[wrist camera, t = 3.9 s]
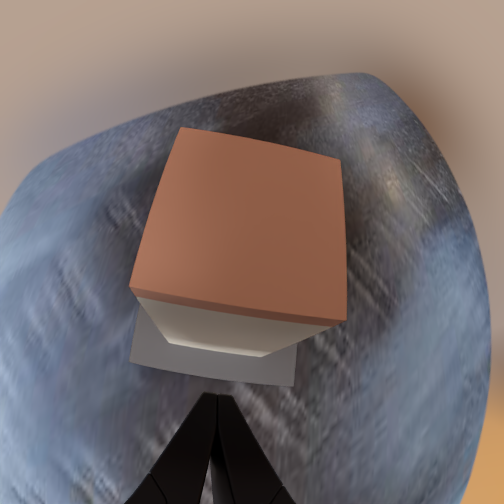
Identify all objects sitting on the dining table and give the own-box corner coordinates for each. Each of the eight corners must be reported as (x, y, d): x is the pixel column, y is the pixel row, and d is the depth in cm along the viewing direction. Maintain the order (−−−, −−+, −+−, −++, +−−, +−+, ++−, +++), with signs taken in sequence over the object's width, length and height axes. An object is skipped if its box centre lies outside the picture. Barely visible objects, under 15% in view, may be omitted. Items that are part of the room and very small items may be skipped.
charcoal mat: (290, 386, 16) (293, 386, 15) (130, 362, 15) (128, 361, 14) (302, 155, 23) (304, 151, 23) (190, 134, 22) (191, 129, 22)
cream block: (260, 357, 16) (346, 320, 7) (168, 342, 15) (128, 286, 6) (269, 272, 18) (340, 159, 9) (185, 257, 17) (180, 127, 8)
